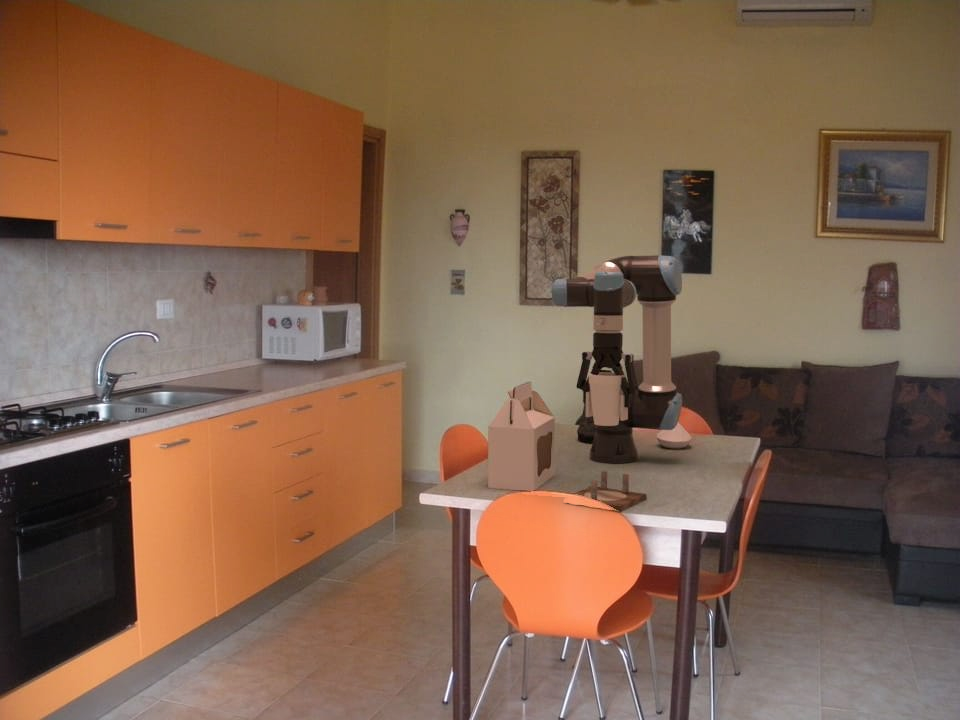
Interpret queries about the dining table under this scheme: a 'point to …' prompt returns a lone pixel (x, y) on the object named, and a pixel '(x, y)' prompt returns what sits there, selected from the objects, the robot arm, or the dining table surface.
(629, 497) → the pin board
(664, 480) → the dining table surface
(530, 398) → the gable box
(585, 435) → the black backpack
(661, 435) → the spoon rest
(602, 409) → the foam cup
